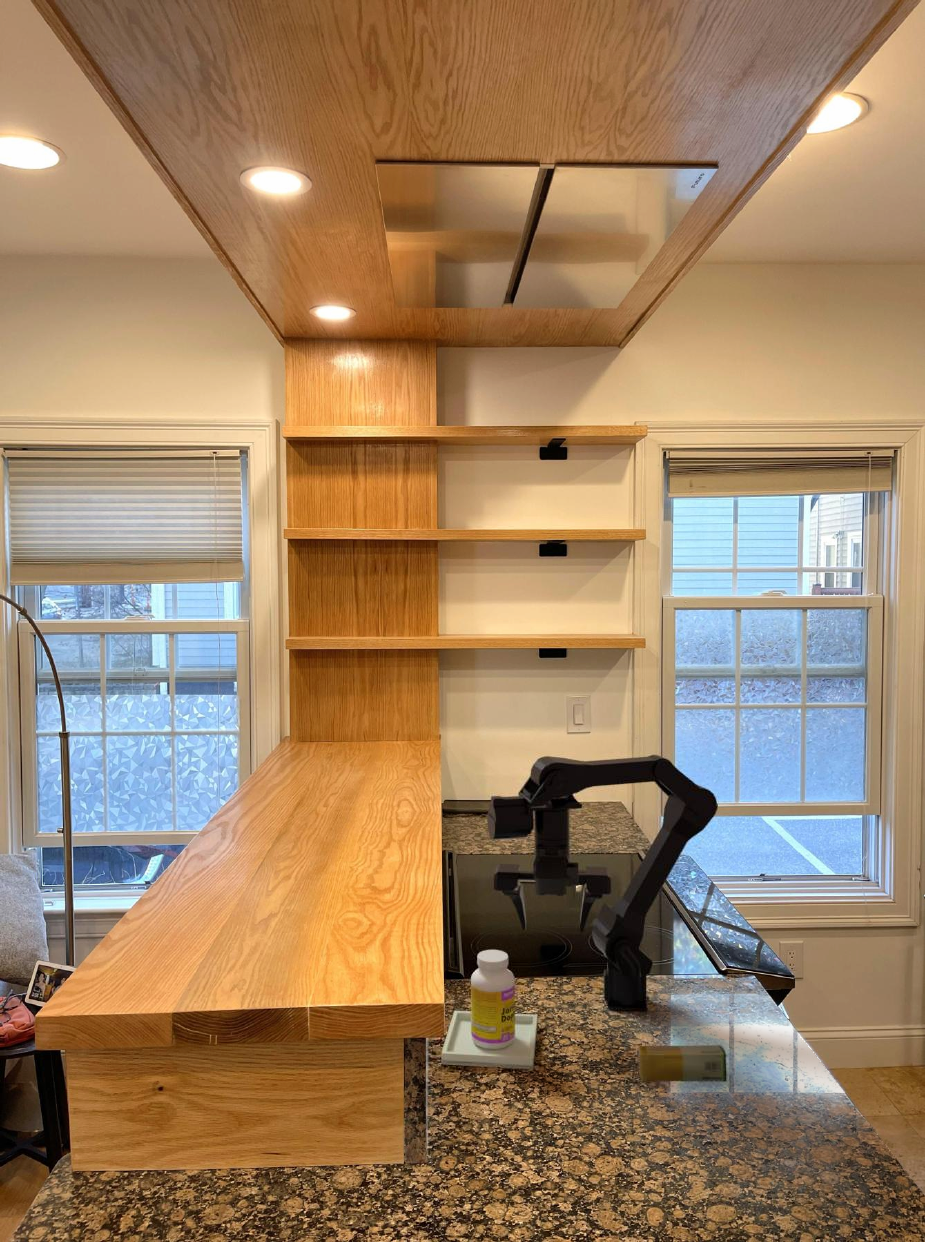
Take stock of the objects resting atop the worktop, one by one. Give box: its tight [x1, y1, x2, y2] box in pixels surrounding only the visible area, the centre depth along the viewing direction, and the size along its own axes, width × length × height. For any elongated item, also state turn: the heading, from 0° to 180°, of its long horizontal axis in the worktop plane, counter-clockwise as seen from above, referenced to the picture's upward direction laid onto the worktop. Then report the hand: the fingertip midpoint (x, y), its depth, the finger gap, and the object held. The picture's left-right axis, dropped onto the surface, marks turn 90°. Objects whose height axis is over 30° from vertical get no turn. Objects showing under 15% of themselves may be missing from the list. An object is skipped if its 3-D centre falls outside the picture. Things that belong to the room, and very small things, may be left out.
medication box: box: [637, 1044, 728, 1082], centre depth 121 cm, size 12×3×4 cm, turn 89°
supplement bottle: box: [470, 949, 516, 1049], centre depth 131 cm, size 7×7×13 cm
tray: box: [440, 1010, 538, 1071], centre depth 131 cm, size 13×13×2 cm
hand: (552, 930), depth 141 cm, fingers open, 9 cm apart
